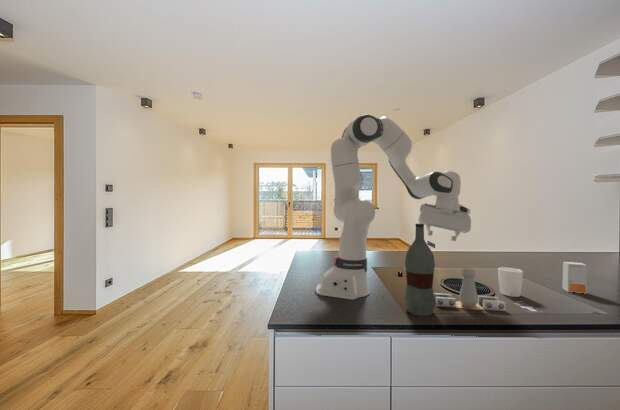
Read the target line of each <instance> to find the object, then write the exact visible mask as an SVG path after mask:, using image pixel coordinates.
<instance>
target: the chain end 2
mask: <svg viewBox="0 0 620 410" xmlns="http://www.w3.org/2000/svg"><path fill="white" fill-rule="evenodd" d="M477 297H478V302H477V303H478V304H479V305H480V306H482V308H483V309H484V310H483V311H485V310H486V311H501V312H506V301H504V300H500V297H498V296H489V295H488V296H486V295H477Z"/></svg>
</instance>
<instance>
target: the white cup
mask: <svg viewBox="0 0 620 410" xmlns="http://www.w3.org/2000/svg"><path fill="white" fill-rule="evenodd" d="M497 273H498V287H499V293H500V295H503V296H506V297H513V298H518V297H519V298H520V297H521V294H522V292H521V291H522V287H523V274H524V272H523V270H522V269H518V268H514V267H509V266H508V267H506V266H501V267H500V266H499V267H498V268H497Z"/></svg>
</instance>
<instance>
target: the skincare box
mask: <svg viewBox="0 0 620 410" xmlns="http://www.w3.org/2000/svg"><path fill="white" fill-rule="evenodd" d="M587 278H588V265H587V264H585V263H582V262H576V261H575V262H574V261H562V283H561V284H562V286H561V288H562V290H563V289H564V290H563V291H566V293H573V292H575V294H581V293H584V294H583V295H586V294H587V287H588V286H587V285H588V283H587V280H588V279H587Z"/></svg>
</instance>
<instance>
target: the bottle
mask: <svg viewBox="0 0 620 410" xmlns="http://www.w3.org/2000/svg"><path fill="white" fill-rule="evenodd" d="M404 264H405V273H406V274H405V275H406V287H405V294H404V300H405V301H404V302H405V308H406V311H407V312H408V313H410V314H411V315H415V316H418V317H428V316H431V315H432V314H433V313H434V308H435V304H436V302H435V301H434V293H435V292H434V288H433V284H434V273H435V267H436V266H435V265H436V264H435V257H434V253H433V251H432V250H431V248H430V247H429V245H428V243H427V242H426V241H425V224H420V223H415V239H414V241H412V243H411V245H410V246H409V247H408V249H407V251H406V254H405V260H404Z"/></svg>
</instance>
